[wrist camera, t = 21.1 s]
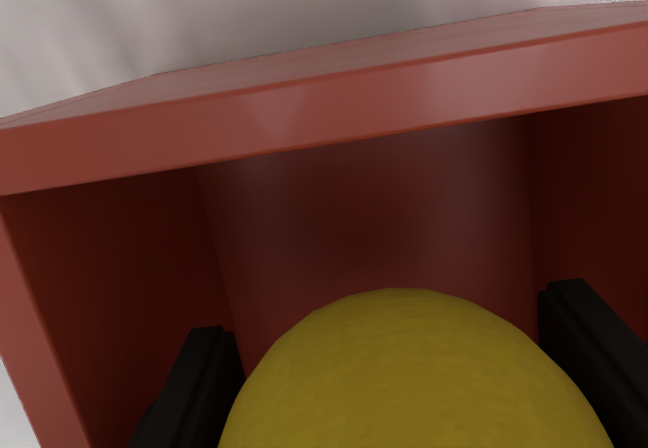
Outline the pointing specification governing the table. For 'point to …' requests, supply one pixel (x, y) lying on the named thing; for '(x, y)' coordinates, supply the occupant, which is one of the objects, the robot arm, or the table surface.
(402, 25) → the table surface
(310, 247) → the bin
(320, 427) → the lemon
